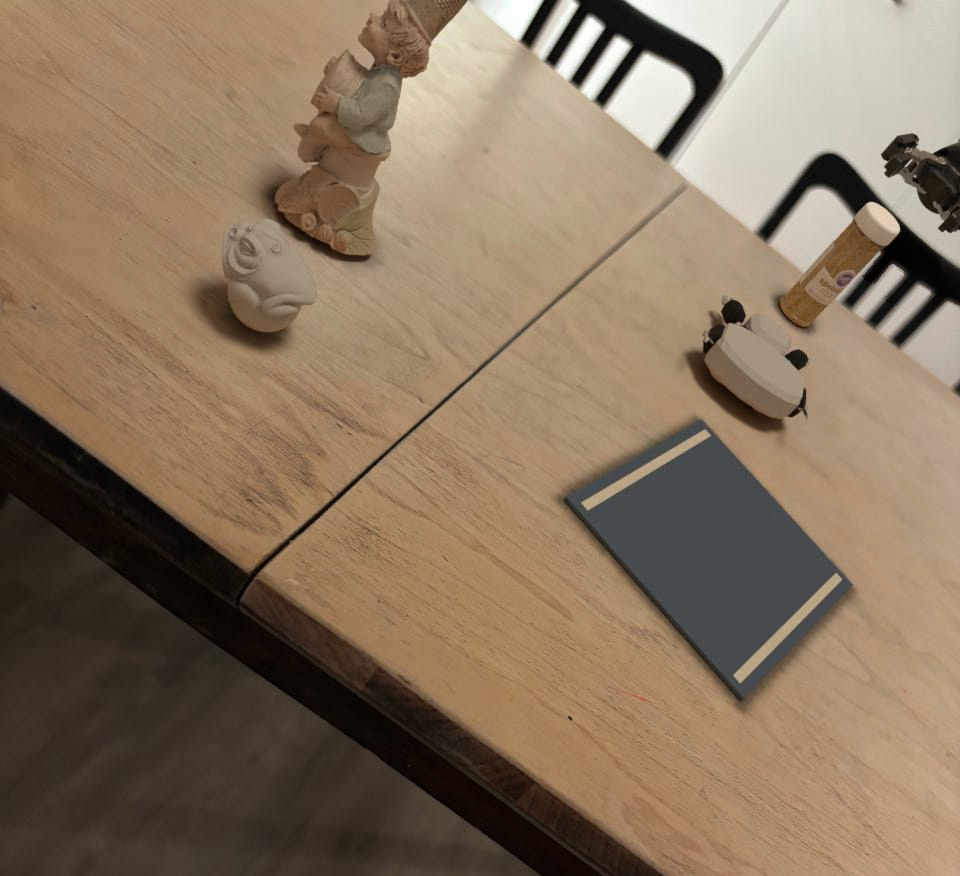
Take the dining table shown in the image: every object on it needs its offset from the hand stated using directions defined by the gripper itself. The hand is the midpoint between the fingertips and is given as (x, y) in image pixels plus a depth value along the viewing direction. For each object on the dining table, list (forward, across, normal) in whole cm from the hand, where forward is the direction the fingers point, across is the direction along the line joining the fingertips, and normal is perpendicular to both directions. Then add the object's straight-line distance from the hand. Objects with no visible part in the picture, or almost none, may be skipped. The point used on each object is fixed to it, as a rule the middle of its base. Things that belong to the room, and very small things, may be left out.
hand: (919, 195), depth 107 cm
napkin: (+53, +14, +13) cm, 57 cm away
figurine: (+63, -26, +14) cm, 69 cm away
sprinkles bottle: (+11, 0, +14) cm, 18 cm away
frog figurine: (+76, -19, +14) cm, 80 cm away
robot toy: (+30, +3, +14) cm, 33 cm away
